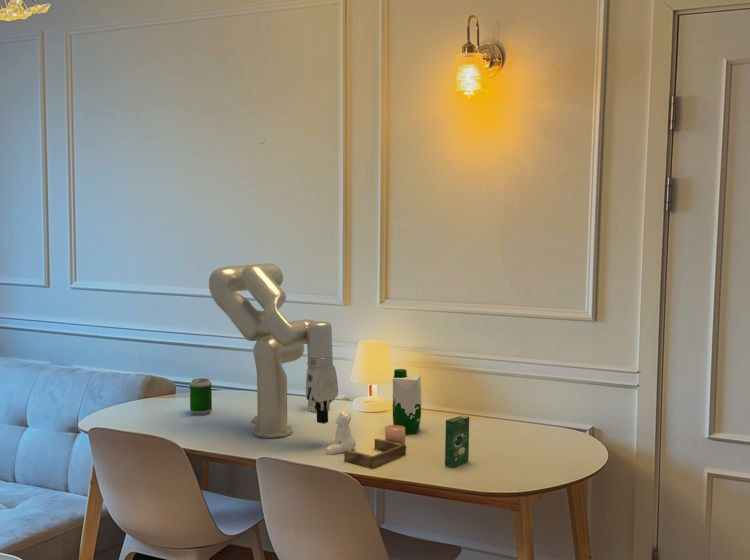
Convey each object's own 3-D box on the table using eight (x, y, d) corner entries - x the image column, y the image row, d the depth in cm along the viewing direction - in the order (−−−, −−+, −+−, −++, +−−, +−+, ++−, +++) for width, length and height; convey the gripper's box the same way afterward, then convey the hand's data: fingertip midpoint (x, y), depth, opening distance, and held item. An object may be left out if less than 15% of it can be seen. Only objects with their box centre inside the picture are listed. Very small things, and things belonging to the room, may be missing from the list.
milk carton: (395, 426, 247) (395, 367, 245) (422, 428, 245) (422, 368, 244) (390, 434, 238) (390, 372, 237) (418, 435, 237) (418, 373, 235)
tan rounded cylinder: (381, 447, 224) (381, 428, 224) (392, 443, 229) (392, 423, 229) (397, 451, 221) (397, 431, 220) (408, 446, 225) (409, 427, 225)
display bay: (344, 461, 212) (344, 450, 211) (377, 448, 224) (377, 438, 223) (373, 468, 205) (373, 458, 205) (405, 455, 217) (405, 444, 217)
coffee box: (461, 459, 213) (461, 414, 212) (469, 461, 211) (470, 416, 210) (444, 466, 207) (444, 419, 206) (452, 468, 205) (452, 421, 204)
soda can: (216, 412, 266) (215, 379, 265) (201, 417, 259) (200, 383, 258) (201, 409, 270) (200, 377, 269) (185, 414, 263) (185, 380, 263)
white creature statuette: (328, 445, 227) (328, 406, 226) (356, 445, 227) (356, 406, 226) (325, 454, 218) (325, 414, 217) (355, 455, 217) (354, 414, 216)
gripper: (312, 367, 217) (315, 429, 218) (345, 359, 229) (347, 418, 230) (294, 365, 222) (296, 426, 223) (327, 358, 233) (329, 416, 234)
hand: (322, 422), depth 226 cm, fingers closed
